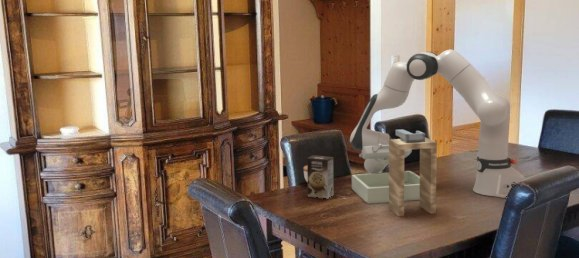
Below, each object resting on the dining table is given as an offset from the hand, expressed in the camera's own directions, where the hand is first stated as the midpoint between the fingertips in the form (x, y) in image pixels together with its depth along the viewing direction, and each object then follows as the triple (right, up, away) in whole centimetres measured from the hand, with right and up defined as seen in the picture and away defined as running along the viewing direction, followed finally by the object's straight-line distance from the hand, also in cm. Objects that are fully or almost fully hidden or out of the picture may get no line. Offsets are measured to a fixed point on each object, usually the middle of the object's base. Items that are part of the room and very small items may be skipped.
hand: (391, 144), depth 218 cm
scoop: (+3, +3, -17) cm, 17 cm away
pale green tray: (0, -20, +5) cm, 21 cm away
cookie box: (-28, -21, +5) cm, 35 cm away
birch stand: (+4, -24, -17) cm, 30 cm away
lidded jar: (-29, -18, +22) cm, 41 cm away
